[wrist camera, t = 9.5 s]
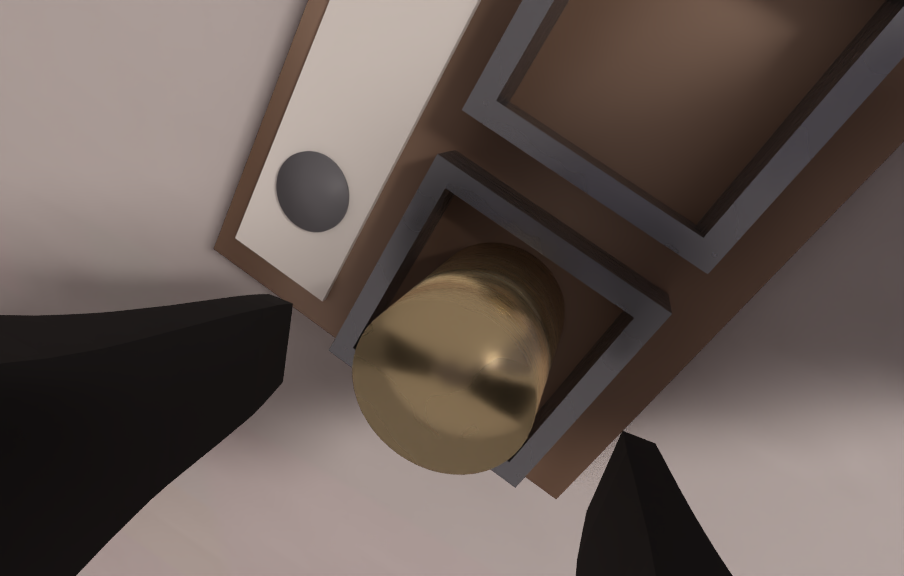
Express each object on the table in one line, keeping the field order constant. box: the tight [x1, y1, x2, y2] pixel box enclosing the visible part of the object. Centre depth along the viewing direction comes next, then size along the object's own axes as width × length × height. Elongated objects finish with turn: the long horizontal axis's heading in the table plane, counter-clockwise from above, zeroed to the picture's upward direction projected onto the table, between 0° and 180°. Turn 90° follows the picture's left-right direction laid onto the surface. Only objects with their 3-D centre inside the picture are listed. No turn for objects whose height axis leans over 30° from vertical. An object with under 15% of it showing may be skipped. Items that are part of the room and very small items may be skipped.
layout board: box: [214, 0, 904, 499], centre depth 12 cm, size 14×24×3 cm, turn 149°
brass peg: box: [352, 242, 565, 475], centre depth 13 cm, size 4×4×5 cm
